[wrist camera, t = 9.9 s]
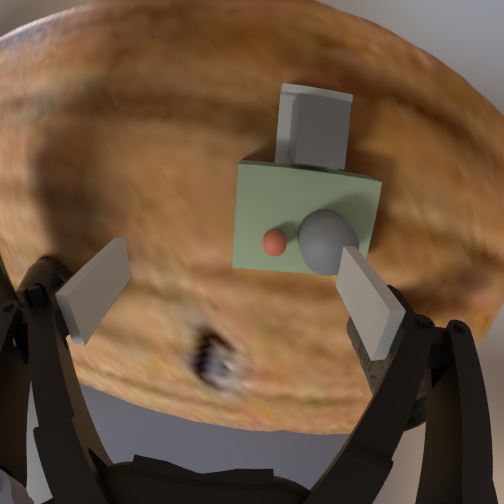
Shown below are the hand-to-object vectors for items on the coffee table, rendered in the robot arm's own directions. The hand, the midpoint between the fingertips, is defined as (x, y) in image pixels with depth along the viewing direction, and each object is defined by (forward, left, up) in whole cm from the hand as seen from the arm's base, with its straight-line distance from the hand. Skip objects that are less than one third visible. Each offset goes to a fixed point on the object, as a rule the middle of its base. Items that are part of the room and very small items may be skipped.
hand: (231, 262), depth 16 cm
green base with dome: (+7, +3, -19) cm, 21 cm away
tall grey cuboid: (+7, +8, -19) cm, 22 cm away
